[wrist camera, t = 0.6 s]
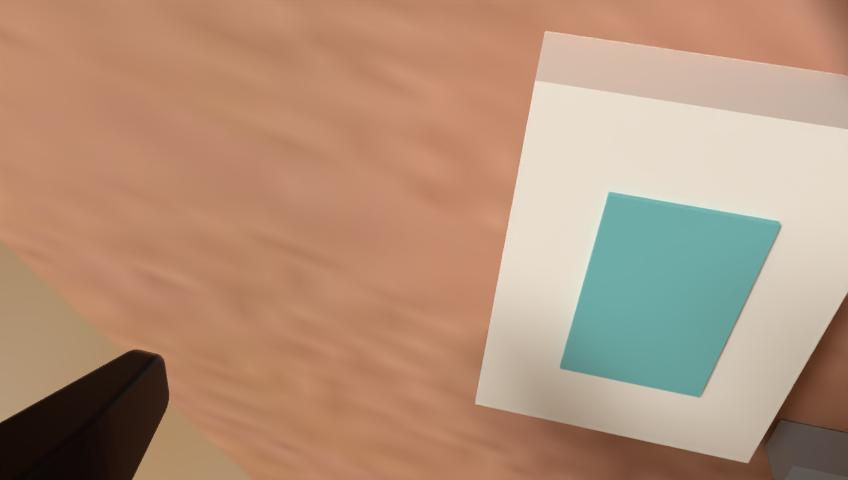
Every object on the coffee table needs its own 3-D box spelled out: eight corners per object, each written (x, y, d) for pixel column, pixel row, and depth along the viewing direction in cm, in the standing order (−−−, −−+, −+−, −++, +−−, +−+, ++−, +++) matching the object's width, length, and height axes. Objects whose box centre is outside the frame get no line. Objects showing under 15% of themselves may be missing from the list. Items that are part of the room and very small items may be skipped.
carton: (727, 370, 24) (749, 468, 21) (490, 322, 25) (474, 408, 22) (872, 74, 18) (938, 147, 14) (545, 26, 19) (534, 83, 15)
